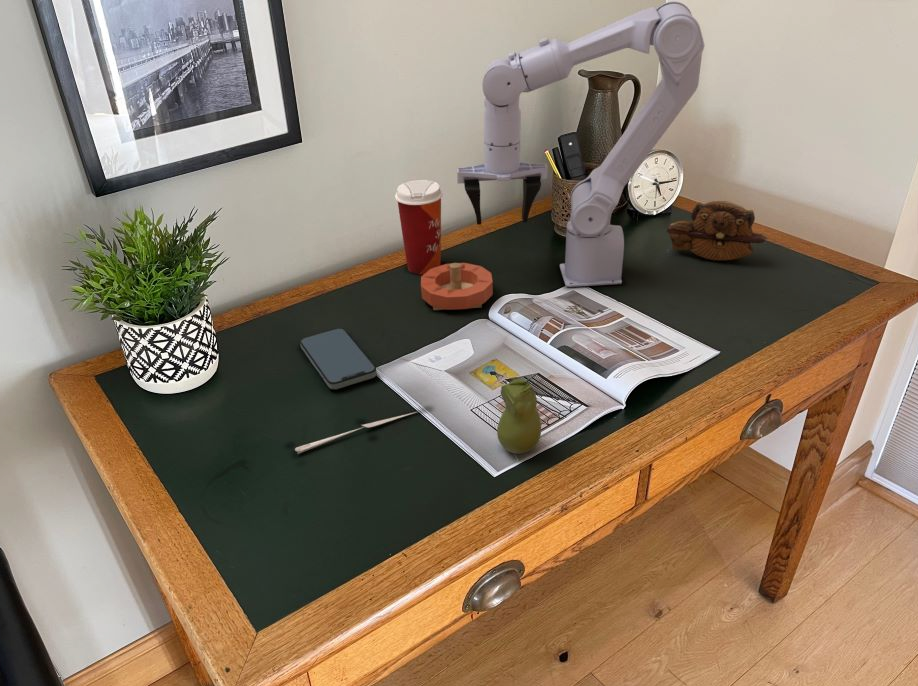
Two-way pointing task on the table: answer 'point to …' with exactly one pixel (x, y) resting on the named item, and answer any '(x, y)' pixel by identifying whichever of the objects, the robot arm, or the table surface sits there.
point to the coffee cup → (420, 224)
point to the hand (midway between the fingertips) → (501, 221)
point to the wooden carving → (716, 231)
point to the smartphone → (338, 358)
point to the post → (456, 282)
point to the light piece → (315, 444)
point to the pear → (519, 418)
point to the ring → (459, 297)
